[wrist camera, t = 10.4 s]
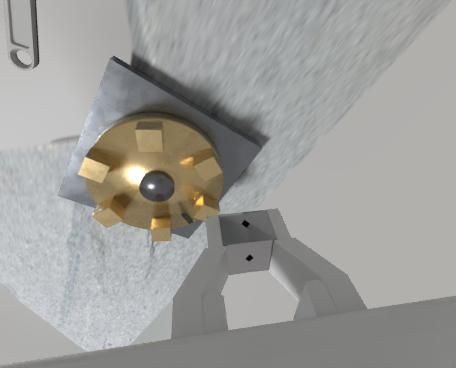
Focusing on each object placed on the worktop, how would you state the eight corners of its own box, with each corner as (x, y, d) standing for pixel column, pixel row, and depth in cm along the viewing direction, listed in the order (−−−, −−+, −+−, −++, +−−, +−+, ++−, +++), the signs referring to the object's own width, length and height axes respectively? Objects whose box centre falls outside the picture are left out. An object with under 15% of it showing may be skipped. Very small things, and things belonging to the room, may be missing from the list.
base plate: (113, 55, 31) (109, 59, 29) (258, 142, 42) (262, 148, 40) (62, 188, 42) (57, 196, 40) (188, 231, 52) (188, 239, 50)
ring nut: (58, 153, 36) (41, 175, 31) (179, 86, 32) (178, 100, 28) (145, 232, 47) (141, 256, 43) (240, 189, 44) (246, 210, 40)
